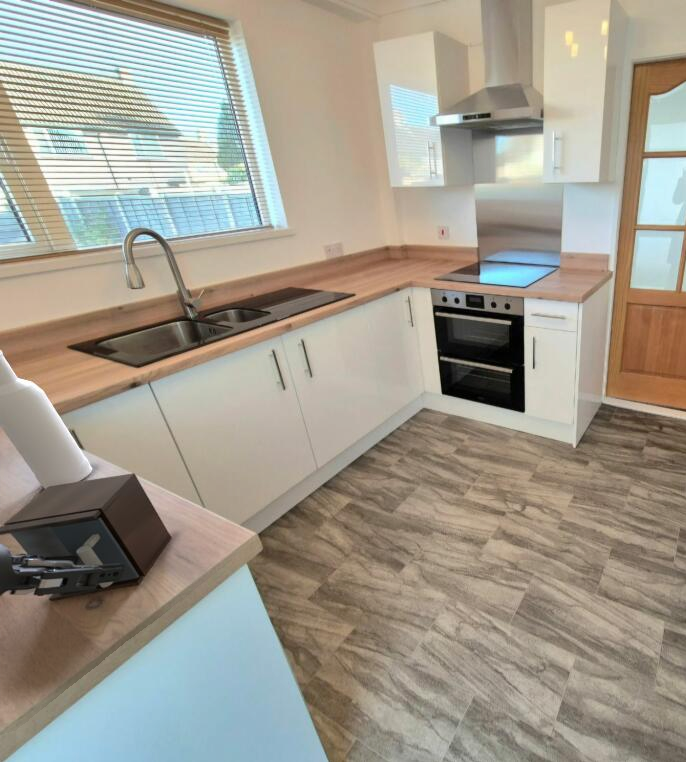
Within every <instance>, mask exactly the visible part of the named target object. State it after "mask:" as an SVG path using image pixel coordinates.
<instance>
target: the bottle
mask: <svg viewBox="0 0 686 762" xmlns="http://www.w3.org/2000/svg"><path fill="white" fill-rule="evenodd" d="M0 429H2V431H3V432H4V434H5V435H6V436H7V438H8V439H9V441H10V442H11V444H12V445H13V446H14V448H15V449H16V451H17V452H18V453H19V455H20V456H21V458H22V459H23V460H24V462H25V464H26V465H27V466H28V468H29V469H30V470H31V472H32V473H33V474H34V476H35V478H36V480H37V482H38V483H39V484H40V485H41V486H42V487H43V489H44V490H45V489H46V488H47V487H49V486H54V485H61V484H67V483H74V482H80V481H83V480H84V479H85V478H87V477H88V476H89V475H90V474H91V473H92V471H93V467H92V466H91V463H90V461H89V460H88V458H87V457H86V456H85V455H84V453H83V451H82V450H81V448H80V447H79V444H77V442H76V440H75V439H74V437H73V435H72V434H71V433H70V431H69V429H68V428H67V426H66V425H65V423H64V421H63V420H62V418H61V416H60V415H59V413H58V412H57V410H56V409H55V407H54V405H53V404H52V402H51V401H50V398H48V396H47V394H46V393H45V391H44V390H43V389H42V388H41V387H40V386H38V385H37V384H36V383H34V382H33V381H31V380H26V379H23V378H19V377H18V376H17V375H16V373H15V372H14V370H13V369H12V367H11V365H10V364H9V362H8V361H7V359H6V358H5V356H4V352H3V351H2V350H1V349H0Z"/></svg>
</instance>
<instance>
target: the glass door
mask: <svg viewBox="0 0 686 762" xmlns="http://www.w3.org/2000/svg"><path fill="white" fill-rule="evenodd" d="M51 529H52V530H53V532H54V533H55V534H56V536H57V537H58V538H59V540H60V541H61V542H62V544H63V545H64V546H65V548H66V549H67V550H68V552H69V553H70V555H71V556H72V555H73V556H78V557H79V560H78V562H77V564H78V565H89V564H94V565H104V564H117V563H119V564H124V565H125V567H124V570H123V573H122V576H121V578H120V580H118V581H115V582H120V581H125V580H130V579H136V578H138V577H139V575H138V574H137V572H136V570H135V569H134V567H133V566H132V564H131V563H130V561H129V560H128V558H127V557H126V555H125V554H124V552H123V551H122V549H121V548H120V546H119V545H118V543H117V542H116V540H115V539H114V537H113V536H112V534H111V533H110V531H109V530H108V528H107V527H106V525H105V524H104V522H103V521H102V519H101V518H96V519H93V520H87V521H81V522H75V523H69V524H63V525H57V526H51ZM112 583H114V582H106V583H98V584H97V585H96V586H98V585H100V586H101V587H103V588H104V587H108V586H109V585H111V584H112Z"/></svg>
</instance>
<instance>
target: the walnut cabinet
mask: <svg viewBox="0 0 686 762" xmlns="http://www.w3.org/2000/svg"><path fill="white" fill-rule="evenodd" d="M96 518H101V519H102V521H103V522H104V524H105V525H106V527H107V528H108V530H109V531H110V533H111V534H112V536H113V537H114V539H115V540H116V542H117V543H118V545H119V546H120V548H121V549H122V551H123V552H124V554H125V555H126V557H127V558H128V560H129V561H130V563H131V564H132V566H133V567H134V569H135V570H136V572H137V574H138V575H139V577H138V578H136V579H130V580H125V581H120V582H114V583H112V584H111V585H109V586H108V587H104V588H103V587H101V586H100V585H98V586H96V588H95V589H93V590H89V591H87V590H84V591H75V592H66V593H58V594H50V596H49V597H48V601H49V602H54V601H60V600H65V599H70V598H71V599H72V598H76V597H81V596H87V595H92V594H98V593H103V592H107V591H108V592H109V591H113V590H120V589H124V588H129V587H130V588H131V587H134V586H139V585H140V584H141V583H142V581H143V580H144V577H146V576H147V574H148V573H149V571H150V570H151V568H152V567H153V566H154V564H155V563H156V562H157V560H158V558H159V557H160V555H161V554H162V553H163V551H164V550H165V548H166V547H167V545H168V544H169V543H170V540H171V539H172V536H171V534H170V533H169V531H168V529H167V528H166V525H165V524H164V522H163V520H162V519H161V517H160V515H159V514H158V512H157V510H156V508H155V506H154V505H153V503H152V501H151V500H150V498H149V496H148V494H147V492H146V491H145V489H144V487H143V486H142V484H141V482H140V481H139V479H138V477H137V475H136V473H134V472H133V473H126V474H120V475H113V476H106V477H100V478H93V479H86V480H81V481H79V482H74V483H67V484H61V485H54V486H49V487H47V488H46V489H45V488H44V490H42V491H41V492H40V493H39V494H38V495H37V496H35V497H34V498H33V499H31V500H30V501H29V502H28V503H27V504H26V505H24V506H23V507H22V508H21V509H20V510H19V511H17V512H16V513H15V514H14V515H13V516H11V517H10V518H9V519H8V520H6V521H5V522H4V523H3V525H0V536H2V535H9V534H11V536H12V537H13V538H14V540H15V541H16V542H17V543H18V544H19V546H20V547H21V549H23V550H24V552H25V554H29V555H41V556H44V559H45V557H54V556H71V555H70V553H69V552H68V550H67V549H66V548H65V546H64V545H63V544H62V542H61V541H60V540H59V538H58V537H57V536H56V534H55V533H54V532H53V530H52V529H51V526H57V525H63V524H69V523H75V522H81V521H87V520H93V519H96ZM77 565H78V564H77ZM81 576H82V575H80V577H79V580H78V581H80V578H81Z"/></svg>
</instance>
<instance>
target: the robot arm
mask: <svg viewBox="0 0 686 762" xmlns="http://www.w3.org/2000/svg"><path fill="white" fill-rule="evenodd" d="M78 560H79V557H78V556H73V555H72V556H54V557H45V559H44V556H41V555H29V554H27V553H20V554H12V553H11V550H10V549H9V548H8V547H7V546H6V545H5V544H3V543H0V597H2V595H4V594H5V593H6V592H9V593H8V595H10V596H26V595H29V594H31V593H32V594H33V596H37V597H43V596H47V595H52V594H58V593H66V592H75V591H84V590H87V591H89V590H93V589H95V588H96V585H97V584H98V583H106V582H115V581H118V580H120V578H121V576H122V573H123V570H124V567H125V565H124V564H119V563H117V564H104V565H94V564H89V565H77V562H78ZM80 575H82V576H81V578H80V581H78V580H79V577H80Z"/></svg>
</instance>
